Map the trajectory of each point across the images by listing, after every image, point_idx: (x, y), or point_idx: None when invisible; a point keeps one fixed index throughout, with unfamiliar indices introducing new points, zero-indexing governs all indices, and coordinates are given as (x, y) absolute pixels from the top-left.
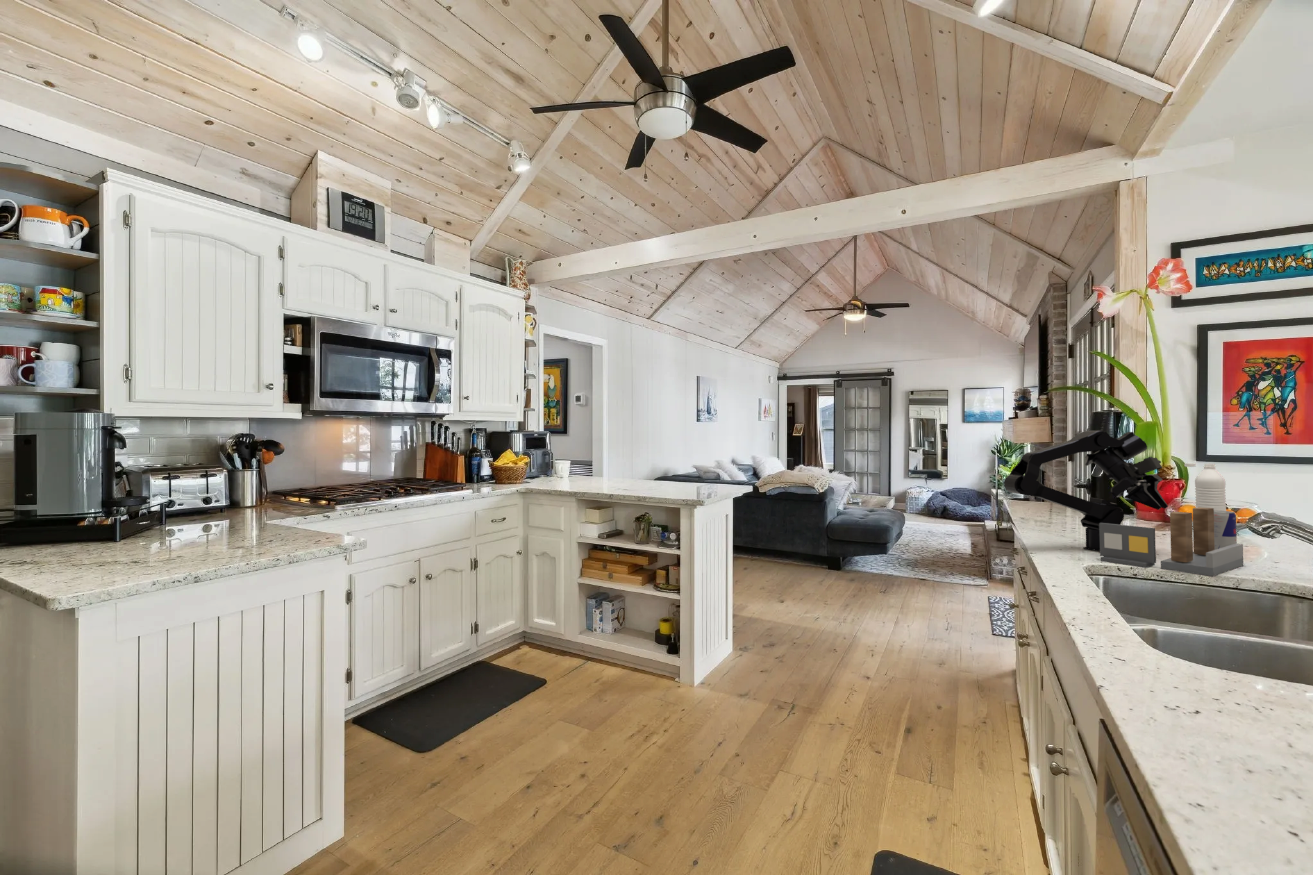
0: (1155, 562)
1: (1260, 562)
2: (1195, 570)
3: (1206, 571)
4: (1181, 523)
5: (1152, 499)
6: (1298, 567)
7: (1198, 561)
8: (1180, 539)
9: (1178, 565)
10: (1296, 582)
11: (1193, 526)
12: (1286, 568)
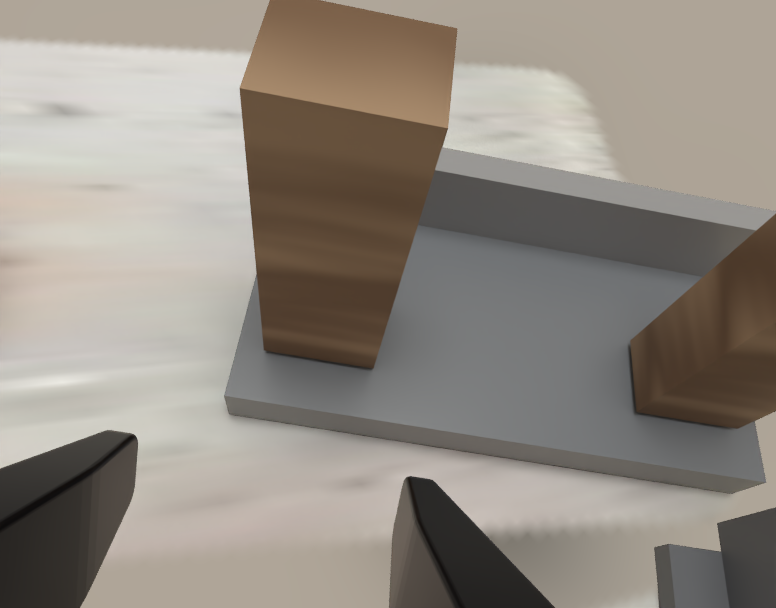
0: (726, 523)
1: (115, 156)
2: None
3: None
4: None
5: (538, 597)
6: (167, 58)
7: (597, 324)
8: None
9: None
10: (545, 80)
11: (406, 259)
12: (232, 88)
